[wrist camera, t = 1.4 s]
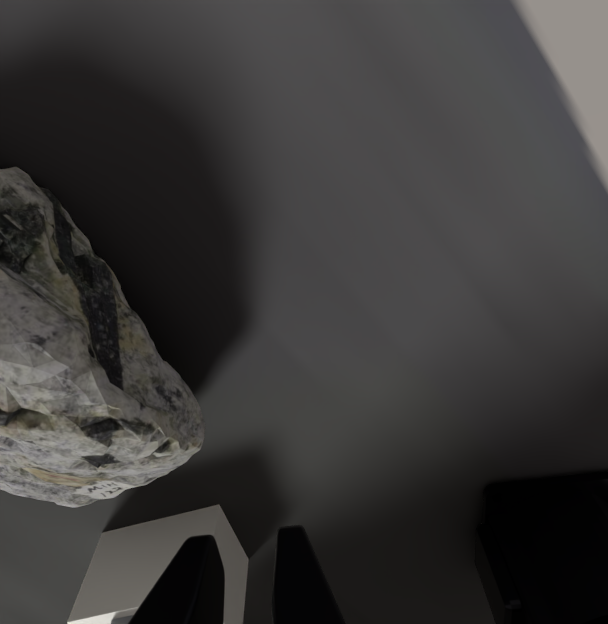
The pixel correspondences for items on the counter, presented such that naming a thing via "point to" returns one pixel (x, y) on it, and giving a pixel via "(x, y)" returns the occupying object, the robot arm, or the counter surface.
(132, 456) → the rock
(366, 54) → the counter surface
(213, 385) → the counter surface
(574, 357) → the counter surface
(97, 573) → the module
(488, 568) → the robot arm
